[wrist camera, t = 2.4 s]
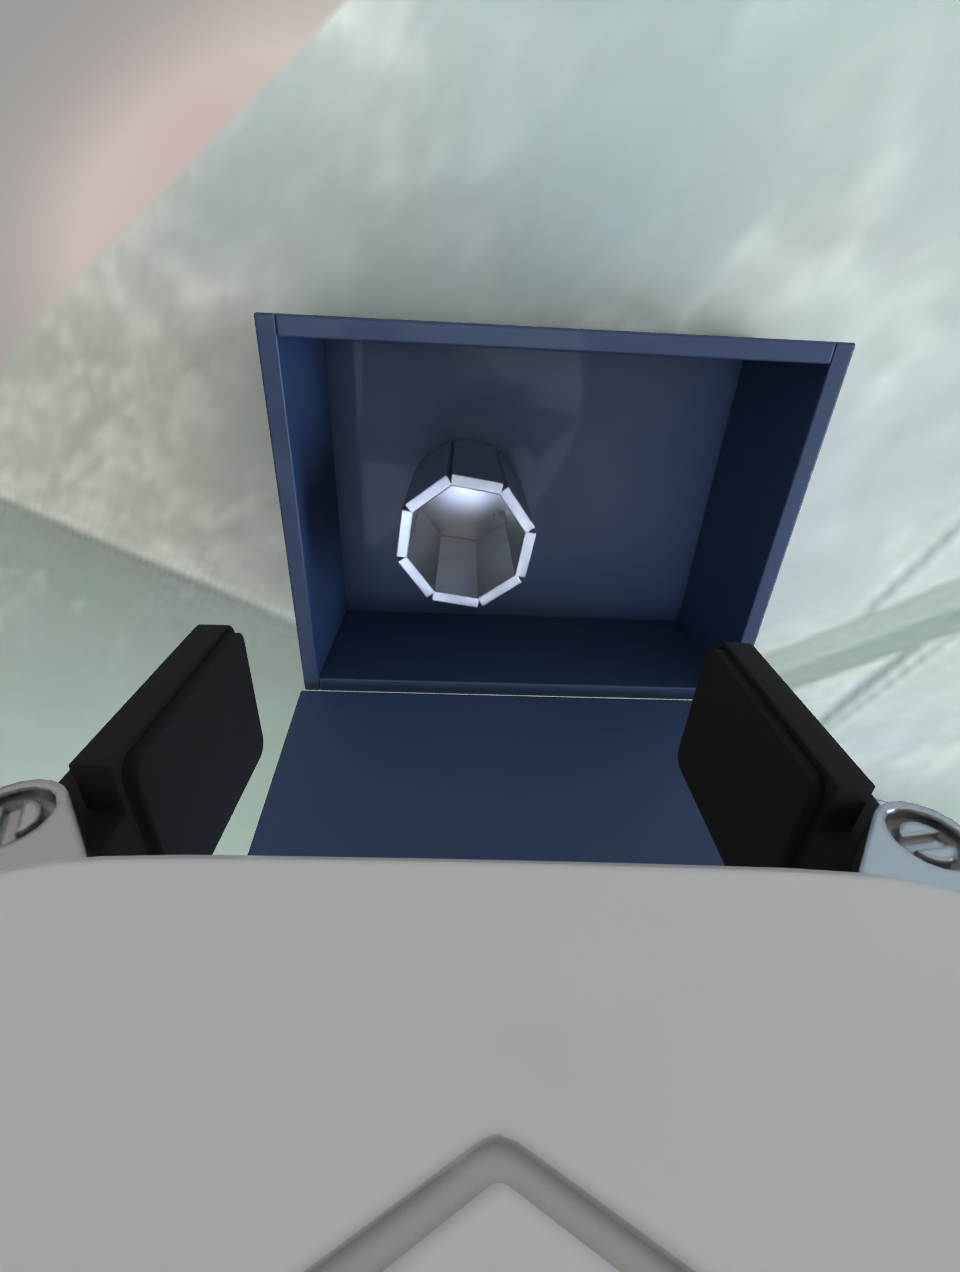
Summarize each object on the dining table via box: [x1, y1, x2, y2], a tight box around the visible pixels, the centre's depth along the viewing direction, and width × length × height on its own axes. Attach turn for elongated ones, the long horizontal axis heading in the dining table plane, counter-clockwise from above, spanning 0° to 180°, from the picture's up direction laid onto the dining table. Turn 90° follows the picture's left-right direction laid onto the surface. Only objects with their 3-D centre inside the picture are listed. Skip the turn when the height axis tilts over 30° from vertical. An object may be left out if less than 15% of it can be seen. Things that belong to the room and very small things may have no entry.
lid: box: [248, 691, 725, 866], centre depth 18 cm, size 14×18×4 cm
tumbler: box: [396, 440, 536, 608], centre depth 22 cm, size 5×5×6 cm
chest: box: [254, 312, 855, 699], centre depth 22 cm, size 13×18×7 cm
